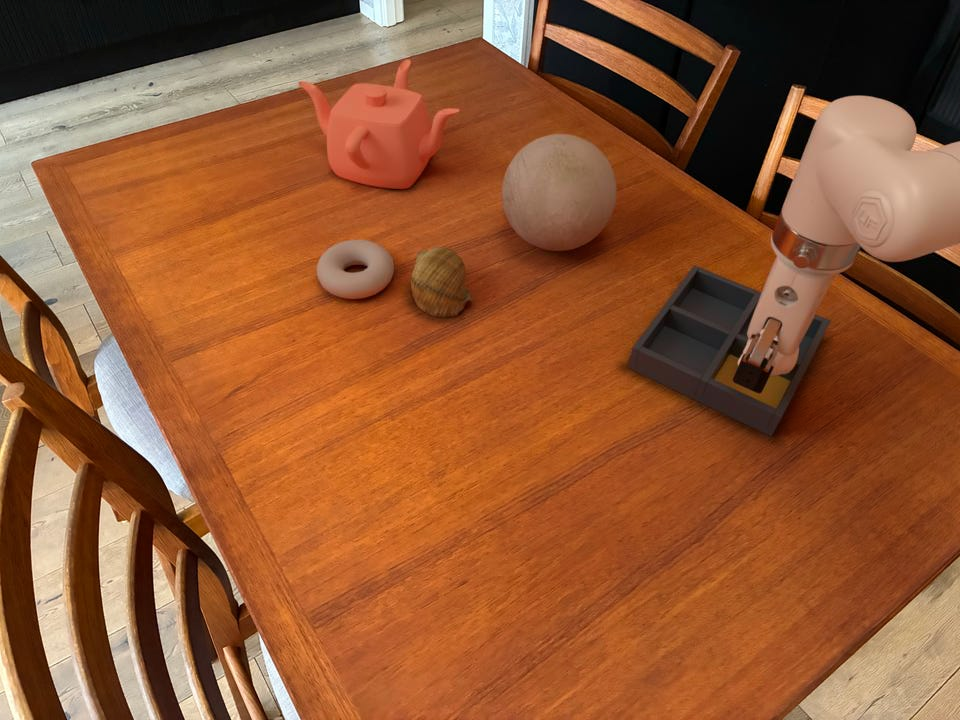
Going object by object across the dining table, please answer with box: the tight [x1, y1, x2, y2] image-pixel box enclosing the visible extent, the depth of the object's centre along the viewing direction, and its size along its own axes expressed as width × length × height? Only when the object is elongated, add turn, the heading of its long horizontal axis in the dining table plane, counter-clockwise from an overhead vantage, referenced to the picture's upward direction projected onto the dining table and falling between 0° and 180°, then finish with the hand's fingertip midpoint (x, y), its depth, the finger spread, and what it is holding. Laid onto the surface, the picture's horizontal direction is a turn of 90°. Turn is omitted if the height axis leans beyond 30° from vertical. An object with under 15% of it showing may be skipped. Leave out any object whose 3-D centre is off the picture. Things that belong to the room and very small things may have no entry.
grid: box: [627, 264, 832, 437], centre depth 86 cm, size 17×17×4 cm
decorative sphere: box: [501, 133, 618, 252], centre depth 96 cm, size 15×15×15 cm
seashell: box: [410, 246, 473, 319], centre depth 92 cm, size 10×7×8 cm
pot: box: [297, 59, 460, 190], centre depth 108 cm, size 18×17×12 cm
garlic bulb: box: [738, 330, 799, 376], centre depth 78 cm, size 6×6×5 cm
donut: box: [316, 238, 395, 300], centre depth 94 cm, size 10×4×10 cm
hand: (759, 364), depth 79 cm, fingers closed on garlic bulb, 6 cm apart
